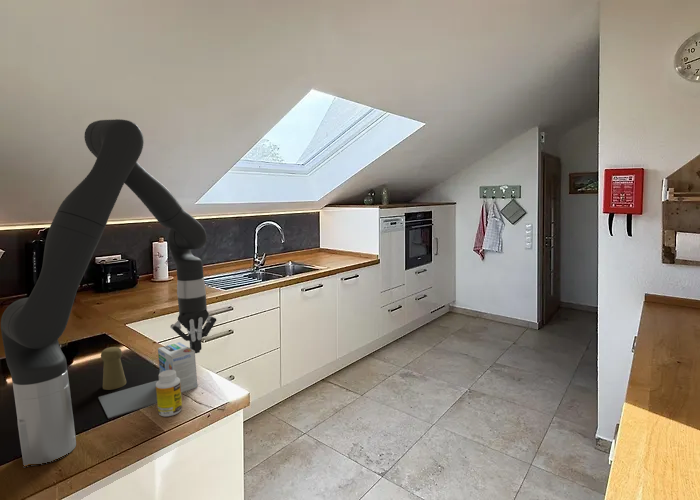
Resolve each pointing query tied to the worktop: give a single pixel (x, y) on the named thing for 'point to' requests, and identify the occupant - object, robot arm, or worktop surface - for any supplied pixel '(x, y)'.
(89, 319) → the worktop surface
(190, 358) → the light bulb box
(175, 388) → the supplement bottle
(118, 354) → the cork
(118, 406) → the mat
